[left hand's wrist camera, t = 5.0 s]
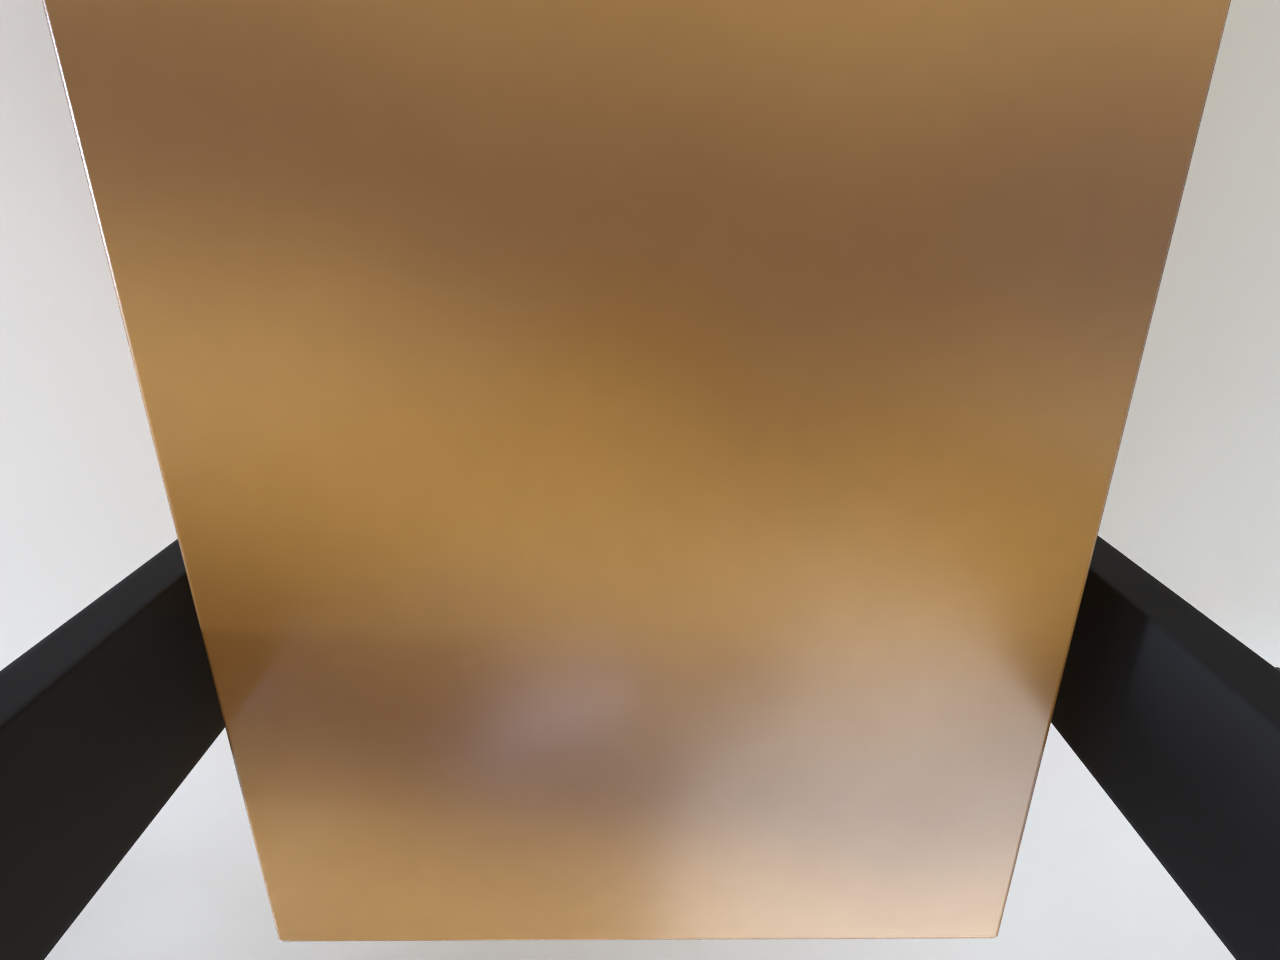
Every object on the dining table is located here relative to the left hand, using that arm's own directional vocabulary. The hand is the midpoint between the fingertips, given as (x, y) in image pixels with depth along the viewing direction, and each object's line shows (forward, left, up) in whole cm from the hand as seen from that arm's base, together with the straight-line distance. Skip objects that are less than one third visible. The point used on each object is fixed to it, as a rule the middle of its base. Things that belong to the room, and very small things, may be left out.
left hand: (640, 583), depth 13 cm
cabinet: (+6, 0, -6) cm, 9 cm away
